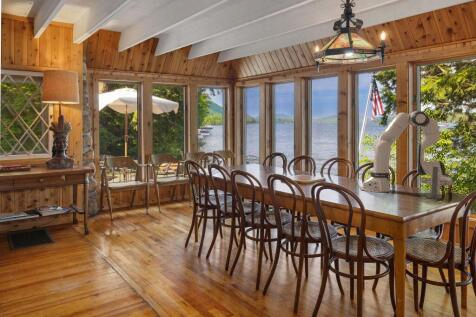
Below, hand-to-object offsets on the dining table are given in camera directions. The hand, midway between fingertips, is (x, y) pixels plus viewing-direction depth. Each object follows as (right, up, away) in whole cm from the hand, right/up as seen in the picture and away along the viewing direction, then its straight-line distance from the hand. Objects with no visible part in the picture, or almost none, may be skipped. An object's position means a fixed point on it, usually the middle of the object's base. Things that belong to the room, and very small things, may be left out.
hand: (435, 182), depth 267 cm
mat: (-2, -9, +9) cm, 13 cm away
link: (0, -7, +1) cm, 7 cm away
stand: (-2, -10, -3) cm, 11 cm away
